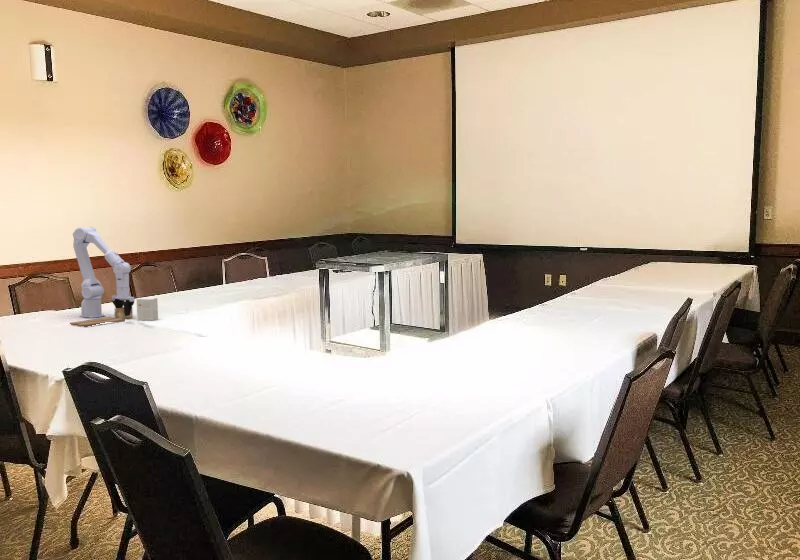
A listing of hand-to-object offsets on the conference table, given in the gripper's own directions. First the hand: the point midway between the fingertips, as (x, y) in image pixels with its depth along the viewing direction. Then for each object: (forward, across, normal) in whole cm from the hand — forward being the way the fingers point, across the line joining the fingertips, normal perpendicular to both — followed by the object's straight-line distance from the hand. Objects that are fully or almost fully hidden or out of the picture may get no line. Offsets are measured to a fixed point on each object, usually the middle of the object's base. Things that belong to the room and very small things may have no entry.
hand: (123, 315), depth 320 cm
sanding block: (+2, 0, 0) cm, 2 cm away
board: (+1, +3, -16) cm, 16 cm away
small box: (+2, +14, +3) cm, 14 cm away
